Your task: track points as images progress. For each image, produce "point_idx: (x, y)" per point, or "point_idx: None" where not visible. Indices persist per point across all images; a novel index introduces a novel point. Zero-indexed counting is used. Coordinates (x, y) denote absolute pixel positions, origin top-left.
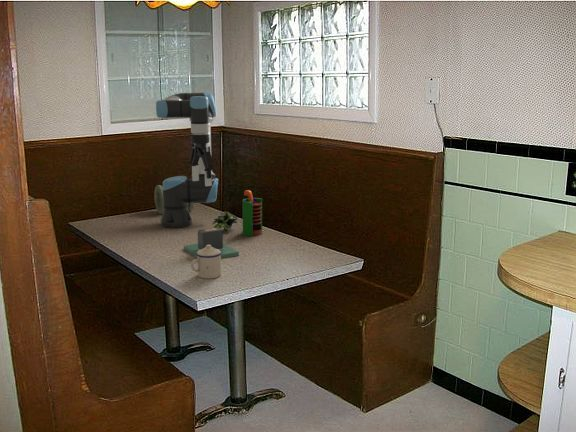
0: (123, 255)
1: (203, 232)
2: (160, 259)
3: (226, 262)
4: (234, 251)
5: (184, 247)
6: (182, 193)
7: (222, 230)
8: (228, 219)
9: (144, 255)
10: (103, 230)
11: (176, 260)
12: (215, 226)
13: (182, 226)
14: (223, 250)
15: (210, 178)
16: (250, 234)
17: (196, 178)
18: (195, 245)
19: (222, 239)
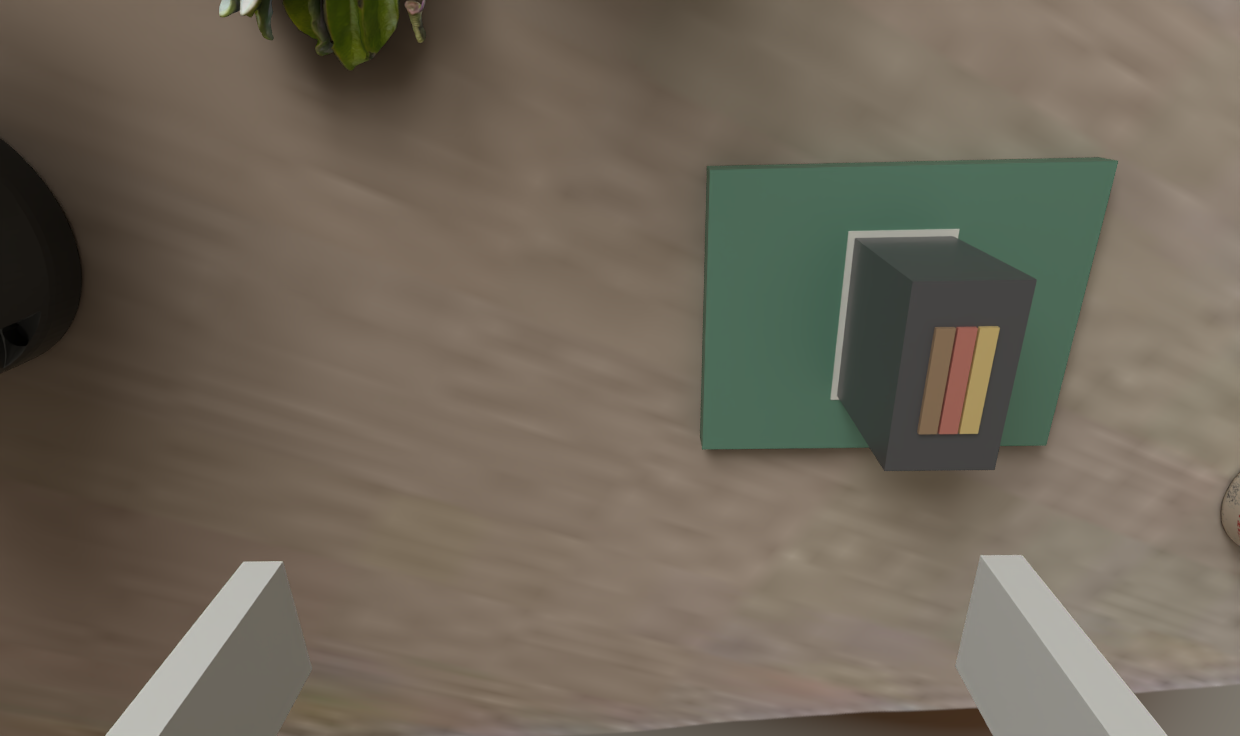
0: (631, 723)
1: (991, 459)
2: (820, 607)
3: (1169, 311)
4: (1084, 187)
5: (715, 444)
6: None
7: (1034, 278)
8: None
9: (693, 649)
10: (35, 687)
11: (898, 547)
12: (339, 34)
13: (66, 236)
14: (997, 253)
15: (1125, 721)
16: None
17: (267, 649)
18: (742, 379)
19: (988, 257)
